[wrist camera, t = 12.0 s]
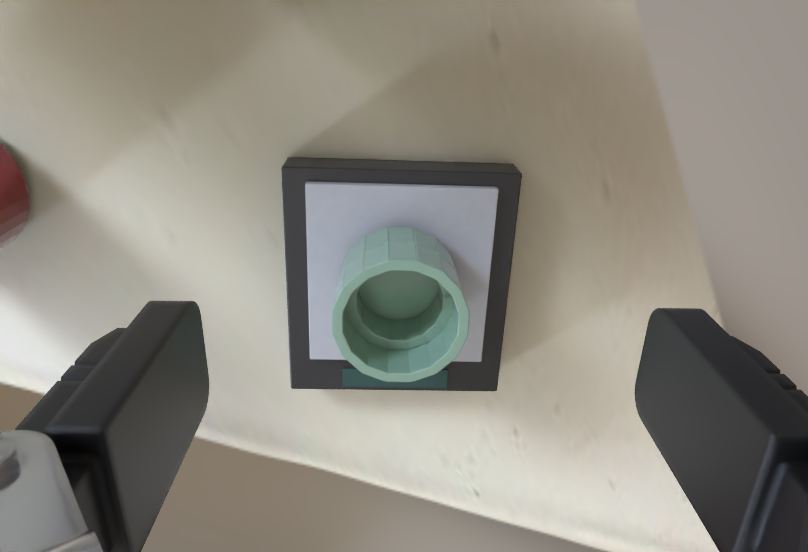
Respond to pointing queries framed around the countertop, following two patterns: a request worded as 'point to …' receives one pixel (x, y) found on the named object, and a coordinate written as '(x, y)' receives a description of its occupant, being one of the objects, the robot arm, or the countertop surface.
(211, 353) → the countertop surface
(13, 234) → the soda can
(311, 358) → the scale
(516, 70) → the countertop surface
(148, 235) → the countertop surface
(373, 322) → the bowl
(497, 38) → the countertop surface
